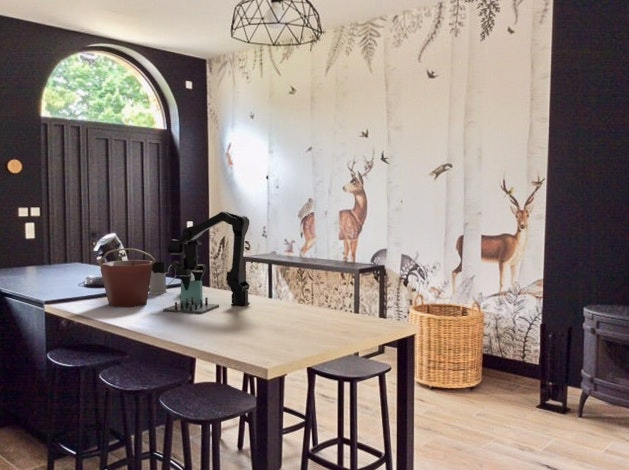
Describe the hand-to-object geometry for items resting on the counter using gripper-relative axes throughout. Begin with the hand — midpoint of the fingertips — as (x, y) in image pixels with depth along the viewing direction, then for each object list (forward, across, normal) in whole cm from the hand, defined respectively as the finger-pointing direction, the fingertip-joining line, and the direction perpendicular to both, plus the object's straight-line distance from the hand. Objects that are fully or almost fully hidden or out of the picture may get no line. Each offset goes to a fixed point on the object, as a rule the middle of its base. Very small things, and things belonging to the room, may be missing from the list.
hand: (191, 288), depth 265 cm
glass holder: (+6, -19, -27) cm, 34 cm away
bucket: (+6, +11, -26) cm, 29 cm away
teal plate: (+6, 0, 0) cm, 6 cm away
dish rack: (+6, +14, +8) cm, 17 cm away
